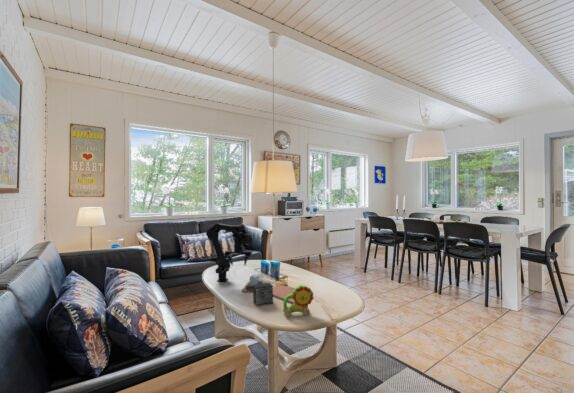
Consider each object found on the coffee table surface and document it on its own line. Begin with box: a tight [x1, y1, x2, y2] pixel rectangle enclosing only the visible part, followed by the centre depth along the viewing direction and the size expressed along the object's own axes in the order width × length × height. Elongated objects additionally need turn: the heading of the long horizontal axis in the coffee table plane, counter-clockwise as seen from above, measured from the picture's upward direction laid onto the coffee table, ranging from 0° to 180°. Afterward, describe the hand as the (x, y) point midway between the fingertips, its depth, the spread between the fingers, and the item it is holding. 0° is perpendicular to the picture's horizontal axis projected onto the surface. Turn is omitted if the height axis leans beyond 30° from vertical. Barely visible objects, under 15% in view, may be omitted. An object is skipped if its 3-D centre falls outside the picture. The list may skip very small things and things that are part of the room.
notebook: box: [273, 284, 295, 305], centre depth 182 cm, size 27×17×2 cm, turn 44°
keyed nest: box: [241, 279, 268, 293], centre depth 195 cm, size 18×13×3 cm
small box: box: [252, 282, 274, 306], centre depth 169 cm, size 11×6×10 cm, turn 109°
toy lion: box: [283, 284, 314, 318], centre depth 153 cm, size 16×5×15 cm, turn 99°
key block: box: [249, 273, 260, 286], centre depth 195 cm, size 4×9×7 cm, turn 173°
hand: (238, 265), depth 204 cm, fingers open, 9 cm apart
